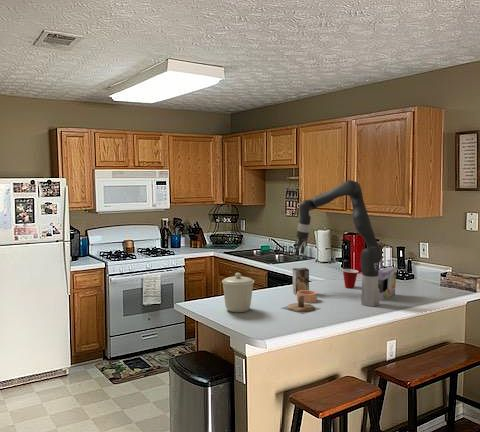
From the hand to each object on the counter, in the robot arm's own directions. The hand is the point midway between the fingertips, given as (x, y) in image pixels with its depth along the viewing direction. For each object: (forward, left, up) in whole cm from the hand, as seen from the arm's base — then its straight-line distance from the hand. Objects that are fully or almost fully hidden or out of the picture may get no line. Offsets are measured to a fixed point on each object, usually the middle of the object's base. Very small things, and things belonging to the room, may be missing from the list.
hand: (299, 254), depth 322 cm
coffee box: (-6, +6, -24) cm, 25 cm away
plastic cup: (-17, -32, -24) cm, 44 cm away
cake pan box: (-47, -26, -24) cm, 59 cm away
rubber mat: (-30, +34, -24) cm, 51 cm away
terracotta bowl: (-20, +17, -24) cm, 35 cm away
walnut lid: (-30, +34, -23) cm, 51 cm away
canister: (-8, +62, -24) cm, 67 cm away
